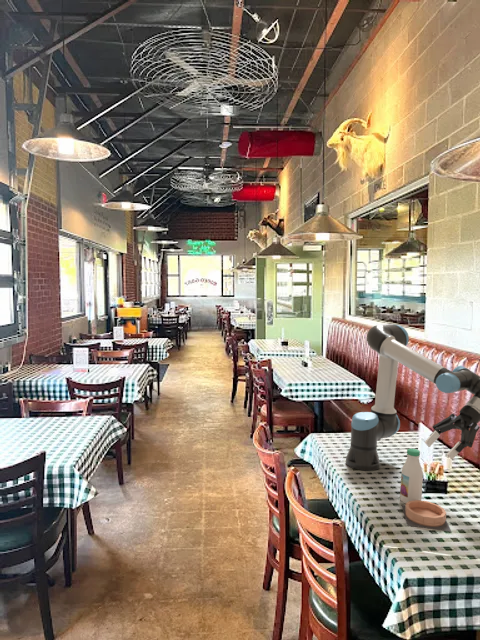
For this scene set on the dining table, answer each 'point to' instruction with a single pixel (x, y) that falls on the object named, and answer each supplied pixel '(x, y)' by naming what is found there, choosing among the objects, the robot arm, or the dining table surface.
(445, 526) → the mat
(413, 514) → the bowl
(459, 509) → the dining table surface
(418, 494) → the milk bottle
